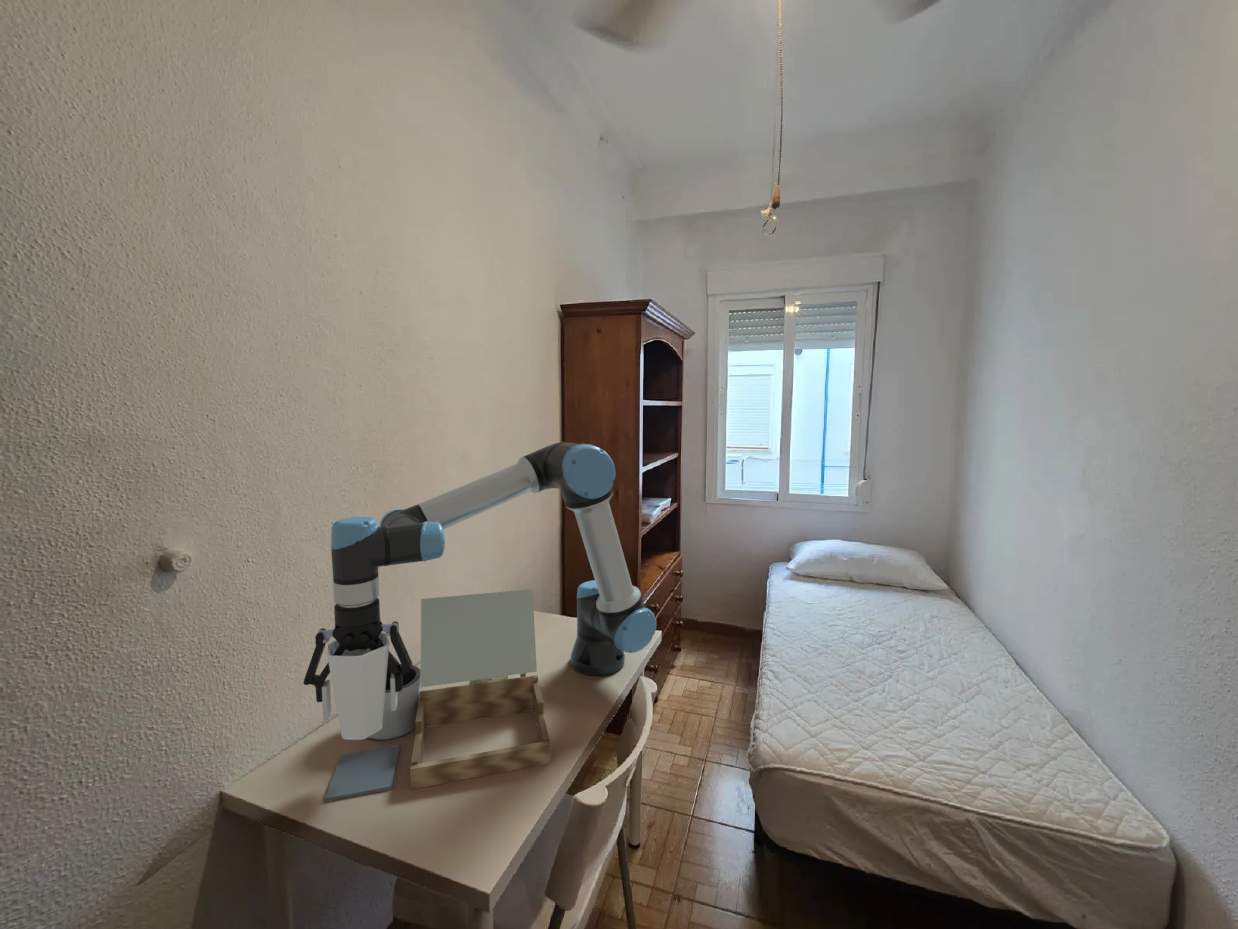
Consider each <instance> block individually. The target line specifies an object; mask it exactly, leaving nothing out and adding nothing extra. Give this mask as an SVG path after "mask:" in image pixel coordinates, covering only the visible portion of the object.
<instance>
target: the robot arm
mask: <svg viewBox="0 0 1238 929" xmlns="http://www.w3.org/2000/svg"><path fill="white" fill-rule="evenodd" d="M615 480H616V467H615V464H614V460H613V459H612V458H611V456H610V455H609V453H607V452H606V451H605V450H604V449H602V448H600V447H598V446H596V445H593V444H590V443H589V444H588V443H576V442H575V443H574V442H569V441H568V442H567V441H560V442H556V443H555V442H554V443H552V444H548V445H546V446H545V447H542V448H540V449H537V450H535V451H534V452H533V451H532V452H531V453H528V454H526V455H524V456H521V457H519V459H518V461H517V462H516V463H515V464H512V465H510V466H508V467H505V468H503V469H501V470H498V471H495V472H493V473H490V474H488V475H486V476H484V477H481V478H478V479H475V480H473V481H471V482H469V483H467V484H464V485H461V486H459V487H456V488H454V489H451V490H448V491H447V492H444V493H442V494H439V495H436V496H435V497H432V498H429V499H427V500H424V501H422V502H420V503H417V504H415V505H412V506H410V507H406V508H404V509H400V508H398V509H397V508H395V509H393V510H390V511H387V512H386V513H385V514H384V515H383V516H382V518H381V519H380V521H379V525H378V524H377V520H376V519H375V518H374V517H371V516H351V517H345V518H341V519H338V520H336V521H335V522H334V523H333V524H332V526H331V530H330V531H331V534H330V537H331V540H330V550H331V552H330V553H331V568H332V581H333V582H332V585H333V586H332V587H333V589H332V590H333V602H334V606H333V611H334V628H333V629H326V628H324V627H322V628H320V629H319V630H318V631H317V632H316V635H315V636H314V637H315V638H314V639H315V647H314V650H313V653H312V656H311V659H310V662H309V665H308V668H307V670H306V674H305V676H304V679H303V684H304V686H309V685H312V686H314V687H315V699H316V700H315V701H316V702H317V703H322V719H323V720H322V721H324V722H325V721H329V719H330V716H331V714H332V713H333V712H332V709H333V708H332V691H331V679H327V678H328V676H329V675H330V668H329V662H328V661H327V663H326V664H325V667H324V668H323V669H322V670H321V672H320V674H317V671H318V668H319V665H320V661H321V659H322V656H323V652H324V650H325V648H326V644H327V643H329V641H330V640H331V637H332V638H333V639H335V640H337V641H338V643H339V644H340V645H339V646H338V648H337V650H336V651H335V653H334V654H333V656H341V655H342V654H343V652H344V651H345V649H346V650H349V651H354V650H357V649H359V650H366V649H367V648H370V650H371V651H373V650H376V649H378V648H380V647H383V646H385V645H384V644H383V643H382V640H381V639H380V638H379V637H378V636H379V635H380V634H381V632H382V633H386V635H387V636H388V637H389V638H390V643H391V645H392V647H393V649H394V651H395V653H396V655H397V658H398V659H397V658H396V657H395V656H394V655H393V654H392V652H391V651H390V650H389V653H388V664H387V668H388V669H389V670H390V671H391V672H392V675H391V678H390V687H391V711H396V707H397V703H398V702H397V692H399V691H401V690H402V686H403V674H404V673H408V672H410V671H411V667H412V665H413V661H412V659H411V657H410V655H409V652H408V650H407V648H406V645H405V643H404V641H403V639H402V637H401V634H400V632H399V631H400V630H399V628H400V626H399V622H398V621H397V620H395V621H392V623H386V624H383V622H382V621H381V610H380V608H381V607H380V599H379V598H378V597H379V596H380V580H379V568H381V567H387V566H395V565H403V564H411V563H418V562H419V563H420V562H427V561H431V560H435V559H439V558H442V556H443V554H444V553H445V545H446V540H445V532H444V530H445V529H447V528H450V527H453V526H455V525H457V524H460V523H461V522H464V521H466V520H468V519H470V518H473V517H475V516H478V515H480V514H482V513H485V512H487V511H489V510H491V509H494V508H496V507H498V506H500V505H503V504H505V503H507V502H509V501H512V500H513V499H516V498H518V497H521V496H523V495H525V494H527V493H530V492H531V493H533V494H537V493H540V492H543V491H545V490H550V489H558V490H560V493H561V496H562V499H563V501H564V505H565V508H566V509H568V510H570V511H572V512H573V513H574V516H575V519H576V521H577V526H578V528H579V532H580V536H581V538H582V542H583V545H584V550H585V552H586V555H587V559H588V562H589V565H590V569H591V571H592V575H593V578H594V579H593V580H588V581H585V582H583V583H580V584H579V586H578V587H577V593H576V628H577V629H576V633H577V634H576V638H575V642H574V644H573V647H572V650H571V653H570V665H571V667H572V668H573V669H574V670H575V671H576V672H579V673H580V674H583V675H587V676H588V675H589V676H594V677H595V676H597V675H599V676H605V675H606V674H608V675H611V674H614V673H616V671H617V672H618V671H620V670H621V669H622V668H623V667H624V666H625V663H624V662H625V660H626V658H625V657H626V654H625V653H628V654H635V653H637V652H640V651H642V650H643V649H644V648H645V647H647V646H648V645H649V644H650V643H651V642H652V640H653V637H654V635H655V633H656V630H657V619H656V616H655V614H654V613H653V612H652V610H651V609H649V608H647V607H646V606H645V604H644V603H645V602H644V600H643V597H642V592H641V590H640V588H638V587H637V586H635V585H633V583H632V580H631V576H630V573H629V569H628V566H627V563H626V559H625V555H624V551H623V548H622V544H621V540H620V537H619V533H618V529H617V526H616V522H615V519H614V516H613V513H612V509H611V506H610V501H611V498H612V497H613V495H614V492H613V486H614V481H615ZM398 660H399V661H398ZM401 664H402V665H401ZM623 665H624V666H623ZM621 667H622V668H621ZM606 676H607V675H606Z"/></svg>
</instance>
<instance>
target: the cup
mask: <svg viewBox="0 0 1238 929" xmlns="http://www.w3.org/2000/svg"><path fill="white" fill-rule="evenodd" d="M378 637H379V638H380V639H381V640H382V643H383V644H384V645H385V646H383V647H380V648H378V649H376V650H373V651H371V650H370V648H367V649H366V650H359V649H357V650H354V651H349V650H346V649H345V651H344V652H343V654H342V655H341V656H333V654H334V653H335V651H336V650H337V648H338V646H339V645H340V644H339V643H338V641H337V640H336V639H335V640H333V641H331V642H328V644H327V652H326V654H327V656H326V657H327V663H328V662H329V668H330V673H329V675H330V677H331V678H330V680H331V684H332V689H333V690H332V691H333V695H334V702H335V707H336V711H337V712H336V713H337V717H338V724H339V728H340V729H339V730H340V735H341V738H342V739H343V740H348V741H349V740H352V741H361V740H365V739H367V738H370V737H369V736H371V735H373V734H374V733H376V732H378V731H380V729H381V728H382V723H383V711H384V700H385V688H386V676H387V664H388V653H389V651H390V641H389V636H387V635H386V633H385V632H383V631H382V632H381V634H380V635H379V636H378Z"/></svg>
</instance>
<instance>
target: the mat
mask: <svg viewBox="0 0 1238 929" xmlns="http://www.w3.org/2000/svg"><path fill="white" fill-rule="evenodd" d="M400 750H401V746H400V745H399V744H398V745H394V746H387V747H386V746H385V747H380V748H374V749H373V748H372V749H369V750H363V751H356V752H349V753H344V754H341V755H340V757H339V759H338V763H337V764H336V767H335V770H334V772H333V776H332V777H331V780H330V783H329V786H328V789H327V791H326V794H325V797H324V802H325V801H326V802H330V801H329V800H331V801H335V800H340V799H346V798H352V797H357V796H362V795H363V796H364V795H368V794H373V793H378V792H383V791H390V790H392V787H393V782H394V778H395V775H396V774H395V773H396V769H397V768H396V767H397V763H398V759H399V754H400Z"/></svg>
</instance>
